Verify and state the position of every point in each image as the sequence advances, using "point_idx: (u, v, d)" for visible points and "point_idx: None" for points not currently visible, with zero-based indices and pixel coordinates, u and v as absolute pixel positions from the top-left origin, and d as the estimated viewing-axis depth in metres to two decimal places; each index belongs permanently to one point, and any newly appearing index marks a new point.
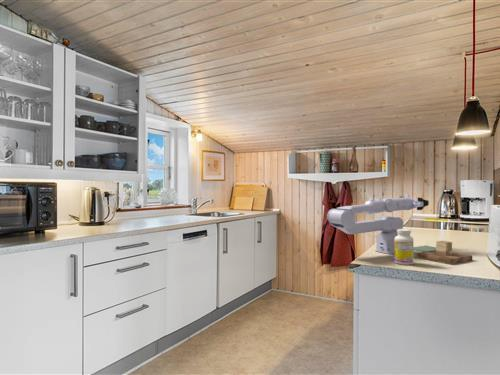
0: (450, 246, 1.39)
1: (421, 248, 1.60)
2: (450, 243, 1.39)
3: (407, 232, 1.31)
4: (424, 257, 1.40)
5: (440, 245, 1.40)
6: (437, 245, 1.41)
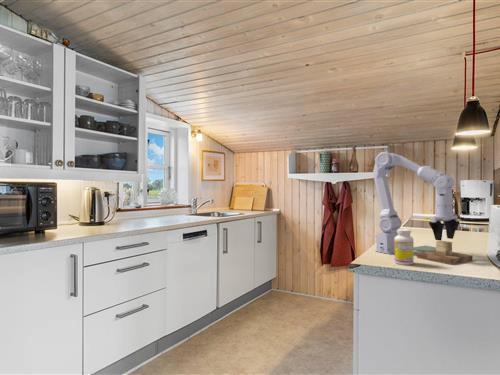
0: (450, 246, 1.39)
1: (421, 248, 1.60)
2: (450, 243, 1.39)
3: (407, 232, 1.31)
4: (424, 257, 1.40)
5: (440, 245, 1.40)
6: (437, 245, 1.41)
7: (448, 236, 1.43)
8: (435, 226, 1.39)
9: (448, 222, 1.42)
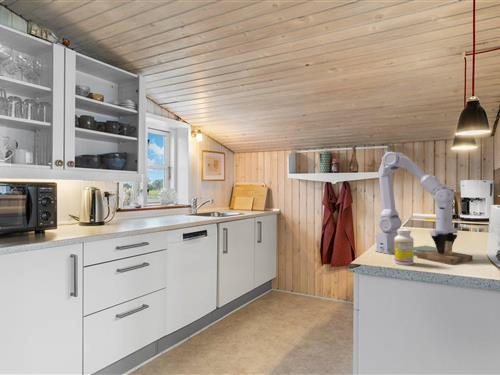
0: (450, 246, 1.39)
1: (421, 248, 1.60)
2: (450, 243, 1.39)
3: (407, 232, 1.31)
4: (424, 257, 1.40)
5: None
6: None
7: None
8: (437, 239, 1.40)
9: (446, 235, 1.42)
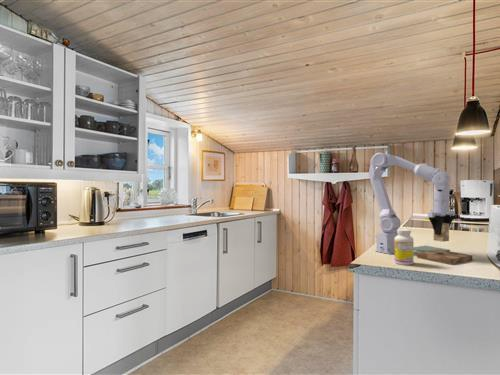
0: (447, 227, 1.42)
1: (421, 248, 1.60)
2: (447, 225, 1.42)
3: (407, 232, 1.31)
4: (424, 257, 1.40)
5: None
6: None
7: None
8: (435, 221, 1.43)
9: (443, 217, 1.45)
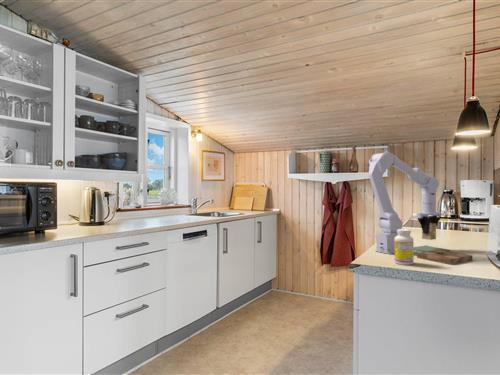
0: (434, 227, 1.58)
1: (421, 248, 1.60)
2: (434, 224, 1.58)
3: (407, 232, 1.31)
4: (424, 257, 1.40)
5: None
6: None
7: None
8: (423, 221, 1.58)
9: (430, 218, 1.61)
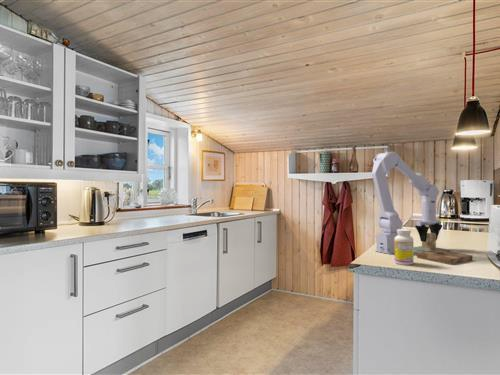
0: (434, 237, 1.58)
1: (421, 248, 1.60)
2: (434, 234, 1.58)
3: (407, 232, 1.31)
4: (424, 257, 1.40)
5: None
6: None
7: None
8: (421, 229, 1.58)
9: (432, 226, 1.61)
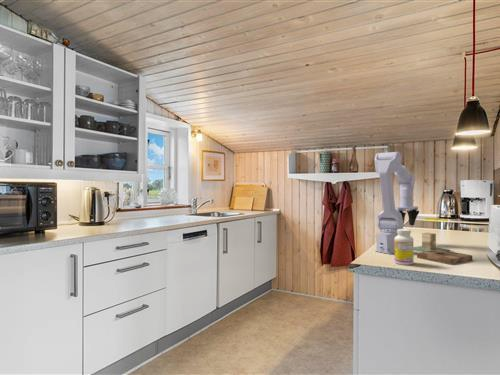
0: (434, 237, 1.58)
1: (421, 248, 1.60)
2: (434, 234, 1.58)
3: (407, 232, 1.31)
4: (424, 257, 1.40)
5: (425, 236, 1.58)
6: (423, 236, 1.59)
7: (410, 223, 1.74)
8: None
9: (410, 212, 1.74)
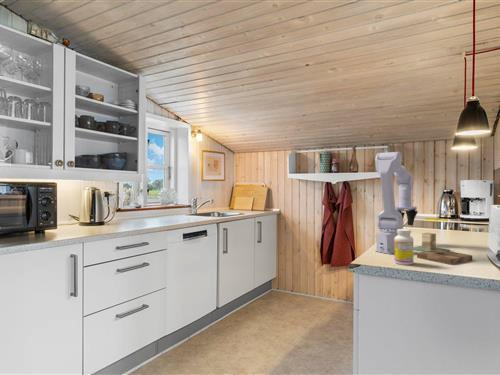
0: (434, 237, 1.58)
1: (421, 248, 1.60)
2: (434, 234, 1.58)
3: (407, 232, 1.31)
4: (424, 257, 1.40)
5: (425, 236, 1.58)
6: (423, 236, 1.59)
7: (408, 223, 1.75)
8: None
9: (409, 212, 1.75)
